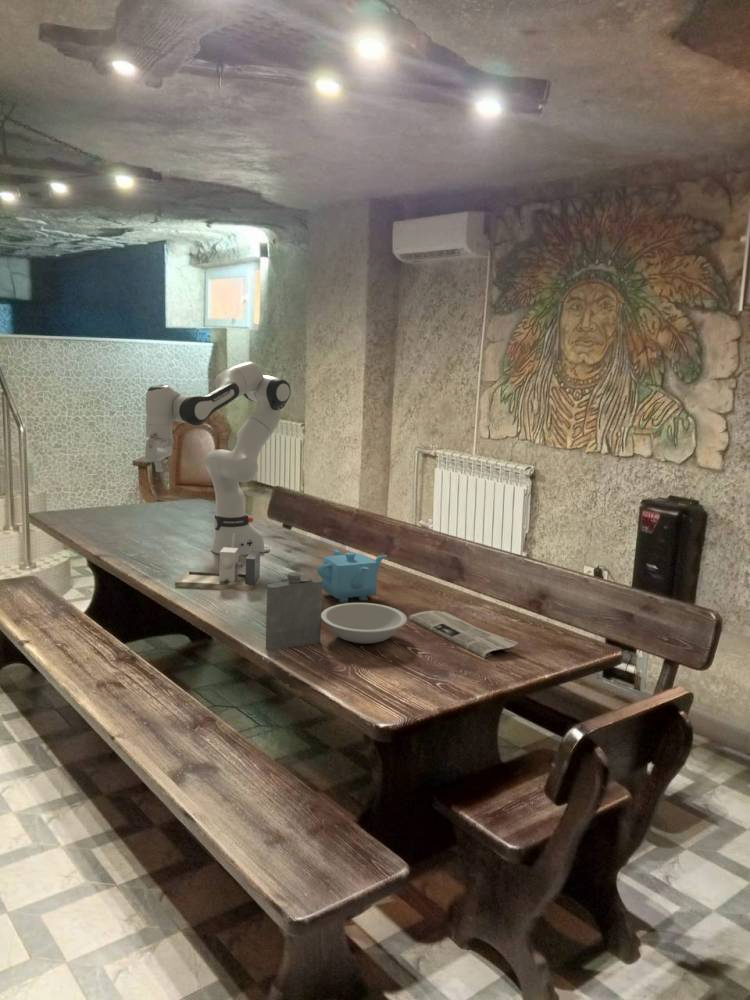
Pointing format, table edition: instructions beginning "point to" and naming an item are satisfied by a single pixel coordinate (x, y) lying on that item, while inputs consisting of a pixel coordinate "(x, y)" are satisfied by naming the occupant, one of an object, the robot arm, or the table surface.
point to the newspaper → (462, 633)
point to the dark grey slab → (252, 568)
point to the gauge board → (213, 581)
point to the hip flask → (293, 612)
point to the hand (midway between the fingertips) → (159, 471)
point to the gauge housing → (229, 564)
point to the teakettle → (349, 575)
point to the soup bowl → (363, 621)
